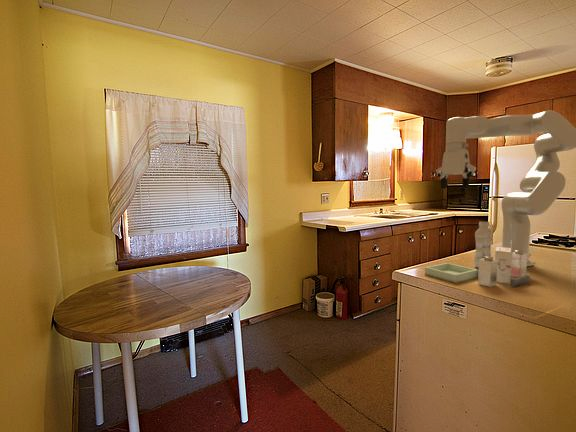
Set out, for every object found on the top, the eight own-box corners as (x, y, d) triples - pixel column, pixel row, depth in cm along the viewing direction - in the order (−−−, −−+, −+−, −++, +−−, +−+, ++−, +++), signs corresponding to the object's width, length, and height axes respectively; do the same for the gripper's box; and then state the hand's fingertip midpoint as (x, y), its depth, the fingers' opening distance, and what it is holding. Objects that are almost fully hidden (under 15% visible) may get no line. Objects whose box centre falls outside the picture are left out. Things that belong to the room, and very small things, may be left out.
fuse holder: (502, 271, 121) (503, 247, 120) (539, 279, 110) (540, 253, 109) (466, 280, 110) (467, 254, 110) (503, 290, 99) (504, 261, 99)
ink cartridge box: (494, 276, 116) (496, 238, 114) (510, 278, 113) (512, 240, 111) (493, 281, 109) (495, 242, 108) (510, 284, 106) (512, 243, 104)
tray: (446, 269, 126) (447, 262, 125) (478, 277, 114) (478, 269, 114) (424, 274, 119) (425, 267, 119) (455, 283, 108) (455, 275, 108)
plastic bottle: (492, 268, 127) (494, 221, 125) (489, 271, 122) (491, 223, 120) (475, 265, 131) (477, 220, 130) (471, 268, 126) (473, 222, 125)
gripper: (481, 145, 121) (480, 187, 122) (442, 150, 136) (441, 188, 138) (470, 144, 117) (469, 188, 119) (431, 150, 133) (430, 188, 134)
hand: (454, 188), depth 128 cm, fingers open, 9 cm apart
